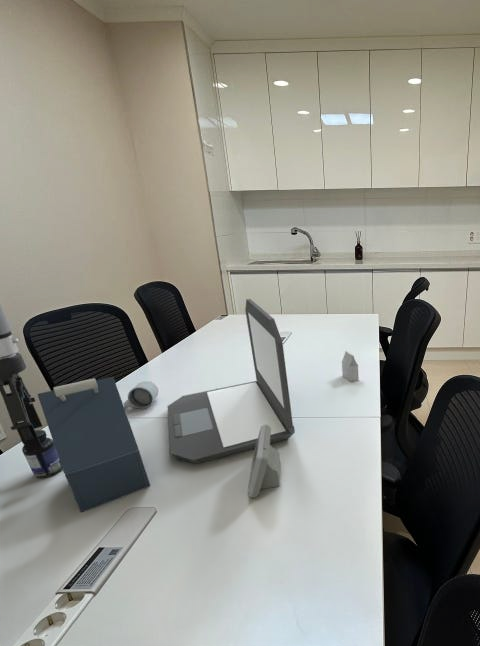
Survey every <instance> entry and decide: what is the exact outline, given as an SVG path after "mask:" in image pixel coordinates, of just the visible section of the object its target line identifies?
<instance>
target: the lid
mask: <svg viewBox="0 0 480 646" xmlns="http://www.w3.org/2000/svg"><path fill="white" fill-rule="evenodd" d="M37 397H38V401H39V403H40V406H41V409H42V413H43V415H44V418H45V421H46V424H47V427H48V430H49V433H50V436H51V439H52V440H53V442H54V445H55V448H56V451H57V454H58V457H59V460H60V463H61V466H62V471H63V474H64V475H65V474H66V473H69V472H72V471H75V470H78V469H81V468H84V467H87V466H90V465H93V464H96V463H99V462H102V461H105V460H108V459H112V458H115V457H118V456H121V455H124V454H127V453H130V452H133V451H136V450H139V451H140V449H139V445H138V443H137V440H136V438H135V435H134V432H133V429H132V426H131V424H130V420H129V418H128V415H127V412H126V409H125V405H124V402H122V401H123V400H122V398H121V394H120V392H119V389H118V386H117V384H116V380H115V377H114V376H109V377H106V378H101V379H97V380H96V378H95V377H93V378H89V379H84V380H81V381H77V382H73V383H68V384H63V385H59V386H54V387H53V389H52V390H48V391H44V392H39V393H37Z"/></svg>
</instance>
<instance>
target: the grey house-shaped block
mask: <svg viewBox="0 0 480 646" xmlns="http://www.w3.org/2000/svg"><path fill="white" fill-rule="evenodd" d="M341 370H342V371H341V373H342V377H343V378H345V379H346V380H347V381H348V382H350V383H352V382H354V381H359V379H360V378H359V364H358V362H357V361H356V359H355V356H354V355H353V354H352V353H351V352H349V351H348V350H345V351H344V355H343V357H342V360H341Z"/></svg>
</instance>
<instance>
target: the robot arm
mask: <svg viewBox="0 0 480 646" xmlns="http://www.w3.org/2000/svg"><path fill="white" fill-rule="evenodd" d="M1 306H2V305H0V394H1V397H2V400H3V403H4V405H5V407H6V410H7V413H8V416H9V418H10V421H11V424H12V426H10V429H11V431H15V430H16V431H17V433H18V435H19V437H20V441H21V440H22V441H21V443H22V442H23V443H22V444H23V446H25V448H26V450H27V452H28V453H29V452H33V451H36V450H40V449H43V447H42V445H41V443H40V441H39V438H38V436H37V434H36V432H35V430H36V429H38V428H43V424H42V421H41V419H40V417H39V415H38V412H37V410H36V407H35V406H34V403H35V402H36V398H35V397H32V395H31V394H30V392H29V390H28V389H27V387H26V385H25V383H24V381H23V377H22V376H20V373H22V372H23V371H25V369H26V368H27V364H26V363H25V361H24V358H23V356H22V354H21V353H20V352H19V350H20V349H19V347H18V345H17V343H19V342H20V340H19V339H18V338H16V337H15V338H13V337H14V336H13V333H12V330H11V328H10V326H9V322H8V320H7V318H6V316H5V313H4V311H3V309H2V307H1Z"/></svg>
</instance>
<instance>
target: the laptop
mask: <svg viewBox="0 0 480 646" xmlns="http://www.w3.org/2000/svg"><path fill="white" fill-rule="evenodd" d="M244 308H245V309H244V311H245V316H246V317H245V318H246V324H247V329H248V336H249V343H250V348H251V355H252V360H253V366H254V374H255V380H253V381H249V382H244V383H239V384H235V385H230V386H225V387H220V388H215V389H209V390H205V391H200V392H199V391H198V392H194V393H190V394H186V395H182V396H180V397H179V398H178V399H176V400H174V401H173V402H171V403H170V404H169V405H167V419H168V430H169V431H168V433H169V446H170V447H169V448H170V454H171V455H173V456H174V457H176V458H177V459H179V460H181V461H185V462H190V463H194V464H201V463H205V462H209V461H212V460H215V459H220V458H223V457H226V456H227V457H228V456H230V455H234V454H237V453H241V452H244V451H248V450H251V449H252V450H253V449H255V447H256V444H257V440H258V436H259V432H260V429H261V426H263V425H268V426H269V427H270V428H271V434H270V445H272V444H274V443H278V442H281V441H282V442H283V441H286V440H289V438H291V437H292V436H293V435H294V434H295V433H296V431H295V430H296V429H295V426H294V422H293V415H292V407H291V399H290V391H289V384H288V376H287V368H286V366H287V365H286V360H285V359H286V358H285V351H284V344H283V340H282V337H281V334H280V332H279V329H278V326H277V323H276V320H275V318H274V317H272V315H270V313H268V312H266V311H265V310H264V309H263V308H262V307H261V306H259V305H258V304H257V303H256V302H254V301H253V300H252V299H251V298H246V301H245V307H244Z"/></svg>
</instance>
